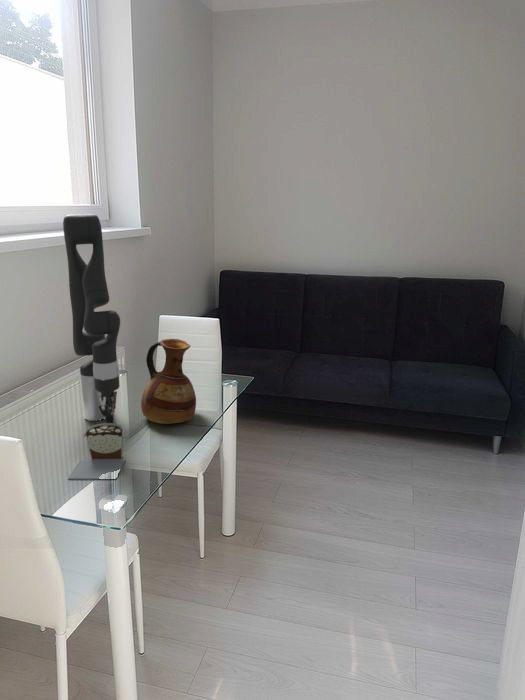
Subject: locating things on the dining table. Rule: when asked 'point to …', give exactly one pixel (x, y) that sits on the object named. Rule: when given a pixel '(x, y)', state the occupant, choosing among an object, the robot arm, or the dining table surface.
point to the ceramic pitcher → (168, 386)
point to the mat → (94, 468)
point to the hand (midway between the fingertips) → (110, 425)
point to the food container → (105, 441)
